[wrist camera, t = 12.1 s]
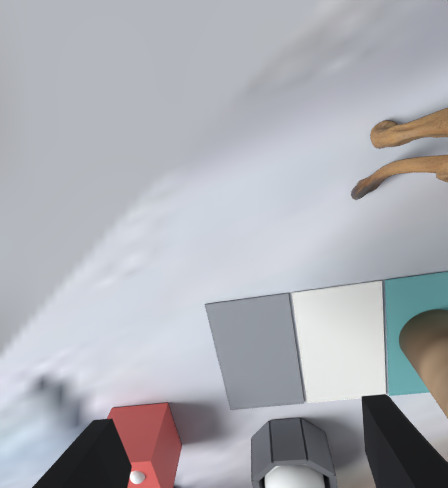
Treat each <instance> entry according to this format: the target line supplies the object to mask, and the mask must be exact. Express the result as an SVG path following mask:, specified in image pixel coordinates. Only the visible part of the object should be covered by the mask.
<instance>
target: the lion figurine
mask: <svg viewBox="0 0 448 488" xmlns="http://www.w3.org/2000/svg"><path fill="white" fill-rule="evenodd" d="M370 136H371V141H372V144H373V146H374V147H375V148H379V149H380V148H385V147H395V146H400V145H403V144H406V143H409V142H411V141H412V140H416V139H419V138H423V137H436V138H438V137H448V108H446V109H443V110H440V111H437V112H435V113H432V114H430V115H427V116H425V117H422V118H420V119H417V120H414V121H411V122H409V123H406V124H400V125H397V124H396V123H395V122H393V121H388V120H385V121H382V122H380V123H378V124H377V125H375V126H374V128H373V129H372V131H371V134H370ZM411 172H429V173H436V177H437V178H438V179H440V180H443V181H445V182H448V155H439V156H425V157H416V158H409V159H403V160H398V161H394V162H392V163H389V164H388V165H385V166H383V167H382V168H380V169H379V170H377V171H376V172H375V173H374V174H373V175H371V176H370V177H368V178H365V179H363V180H360V181H359V182H358V184H357V185H356V186H355V187H354V188H353V190H352V192H351V196H352V198H353V199H355V200H357V199H360V198H362V197H363V196H364V195H366V194H367V193H369V192H372V191H373V190H375V189H376V188H377V187H378V186H379V184H380V183H381V182H383V181H384V180H385V179H386V178H388V177H390V176H392V175H395V174H400V173H411Z"/></svg>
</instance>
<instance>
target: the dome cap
mask: <svg viewBox="0 0 448 488" xmlns="http://www.w3.org/2000/svg"><path fill="white" fill-rule="evenodd" d="M265 488H325V484H324V479H323V474H322V473H320V472H318V471H317V470H315V469H313V468H311V467H310V466H308V465H306V464H302V465H286V466H275V467H274V468H273V469H272V470H271V471H270V472H269V473H268V474H266V475H265Z"/></svg>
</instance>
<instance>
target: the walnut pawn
mask: <svg viewBox="0 0 448 488" xmlns="http://www.w3.org/2000/svg"><path fill="white" fill-rule="evenodd" d="M399 345H400V348H401V350H402V352H403V353H404V355H405V356H406V358H407V359H408V360H409V362H410V363H411V365H412V366H413V368H414V369H415V371H416V372H417V374H418V375H419V377H420V378H421V380H422V381H423V383H424V384H425V385H426V387H427V388H428V390H429V391H430V393H431V394H432V396H433V397H434V399H435V400H436V402H437V403H438V405H439V406H440V408H441V409H442V410H443V412H444V413H445V415H446V416H447V418H448V311H447V310H442V309H435V310H428V311H424V312H422V313H419V314H417V315H415V316H414V317H412V318H411V319H410V320H409V321H408V322H407V323H406V324H405V325H404V326H403V328H402V330H401V332H400V335H399Z"/></svg>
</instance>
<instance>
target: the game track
mask: <svg viewBox="0 0 448 488" xmlns="http://www.w3.org/2000/svg"><path fill="white" fill-rule="evenodd" d="M385 292H386V322H387V353H388V384H389V396H393V395H405V394H416V393H427V392H430V391H429V390H428V388H427V387H426V385H425V384H424V383H423V381H422V380H421V378H420V377H419V375H418V374H417V372H416V371H415V369H414V368H413V366H412V365H411V363H410V362H409V360H408V359H407V358H406V356H405V355H404V353H403V352H402V350H401V348H400V345H399V335H400V332H401V330H402V328H403V326H404V325H405V324H406V323H407V322H408V321H409V320H410V319H411V318H412V317H414V316H415V315H417V314H419V313H422V312H424V311H428V310H435V309H442V310H447V311H448V272H440V273H433V274H426V275H418V276H411V277H403V278H396V279H389V280H385ZM292 298H293V305H294V312H295V319H296V326H297V333H298V340H299V347H300V355H301V362H302V369H303V376H304V383H305V390H306V397H307V403H315V402H326V401H337V400H348V399H360V398H362V396H370V395H381V394H386V379H385V351H384V324H383V296H382V281H374V282H366V283H359V284H352V285H344V286H337V287H329V288H322V289H315V290H307V291H300V292H292ZM205 308H206V312H207V316H208V320H209V324H210V328H211V332H212V336H213V340H214V344H215V349H216V353H217V357H218V361H219V365H220V369H221V373H222V377H223V381H224V385H225V389H226V393H227V397H228V401H229V406H230V410H236V409H247V408H258V407H269V406H281V405H292V404H303V403H304V398H303V391H302V384H301V377H300V371H299V364H298V357H297V350H296V343H295V336H294V329H293V322H292V316H291V309H290V302H289V295H288V293H285V294H278V295H270V296H263V297H255V298H248V299H241V300H233V301H226V302H218V303H211V304H205Z"/></svg>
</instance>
